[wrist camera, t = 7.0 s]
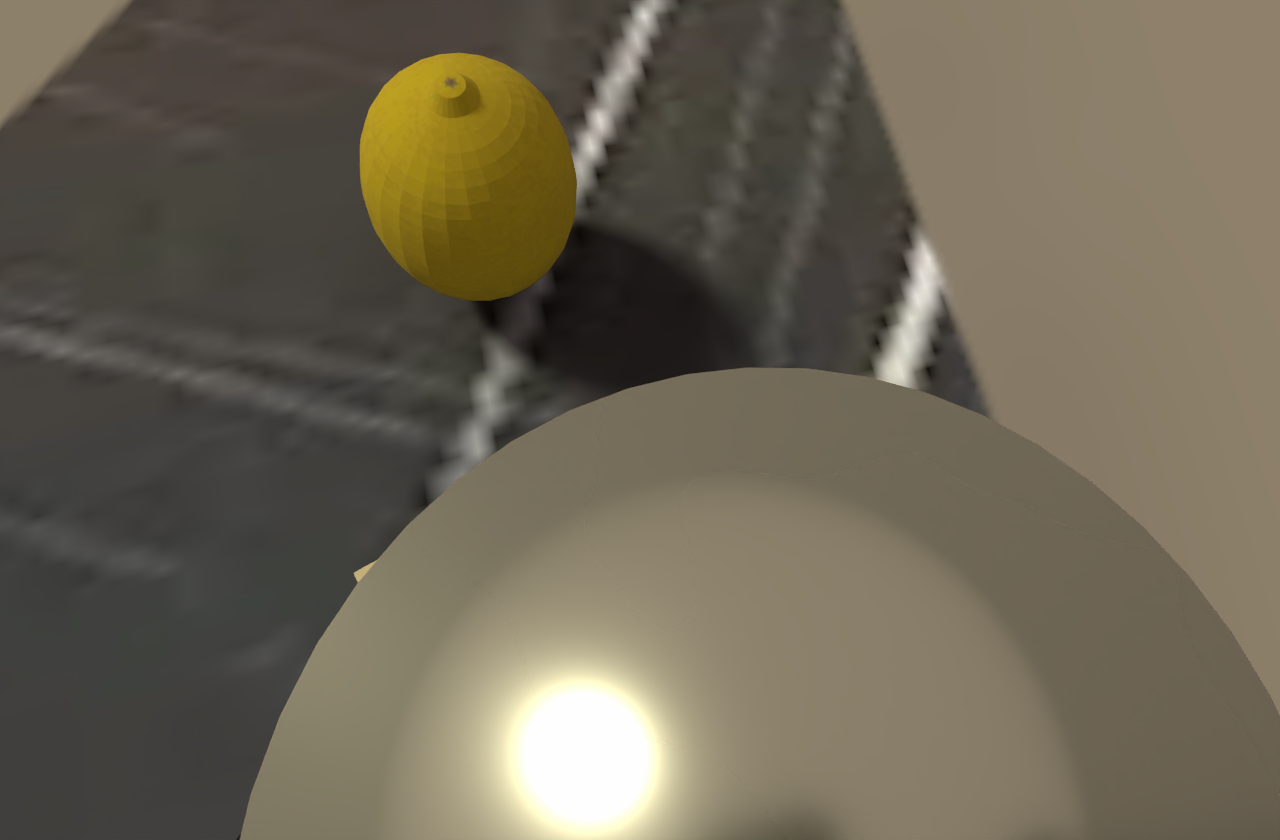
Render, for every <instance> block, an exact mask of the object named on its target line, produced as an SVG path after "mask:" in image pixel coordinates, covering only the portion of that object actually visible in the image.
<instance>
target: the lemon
mask: <svg viewBox="0 0 1280 840" xmlns="http://www.w3.org/2000/svg"><path fill="white" fill-rule="evenodd" d="M360 180H361V188H362V192H363V196H364V199H365V203H366V206H367V209H368V212H369V216H370V219H371V222H372V224H373V227H374V229H375V231H376V233H377V235H378V236H379V238H380V239H381V241H382V242H383V244H384V245H385V247H386V248H387V250H388V251H389V252H390V254H391V255H392V257H393V258H394V260H395V261H396V262H397V263H398V264H399V265H400V266H401V267H402V268H403V269H405V270H406V271H407V272H408V273H409V274H410V275H412V276H413V277H414V278H415V279H416V280H417V281H419V282H420V283H422V284H423V285H425V286H427V287H429V288H431V289H433V290H435V291H437V292H439V293H441V294H443V295H446V296H450V297H454V298H459V299H463V300H467V301H491V300H495V299H499V298H504V297H508V296H512V295H514V294H516V293H518V292H520V291H522V290H524V289H526V288H528V287H530V286H531V285H533V284H534V283H535V282H536V281H537V280H538V279H540V278H541V277H542V276H543V275H544V274H545V273H547V272H548V271H549V270H550V268H551V267H552V266H553V264H554V263H555V261H556V260H557V258H558V257H559V256H560V254H561V253H562V251H563V249H564V248H565V245H566V242H567V239H568V236H569V234H570V231H571V228H572V225H573V222H574V218H575V210H576V188H577V181H576V173H575V168H574V164H573V160H572V155H571V151H570V147H569V143H568V140H567V137H566V135H565V132H564V130H563V128H562V126H561V124H560V122H559V120H558V118H557V117H556V115H555V113H554V111H553V110H552V108H551V106H550V104H549V102H548V101H547V100H546V98H545V97H544V96H543V94H542V93H541V92H540V91H539V90H538V89H537V88H536V87H535V86H534V85H533V84H532V83H531V82H530V81H529V80H528V79H526V78H525V77H524V76H522V75H521V74H520V73H518V72H516V71H515V70H513V69H512V68H510V67H508V66H507V65H505V64H503V63H501V62H498V61H495V60H492V59H489V58H486V57H484V56H479V55H472V54H464V53H452V54H440V55H436V56H433V57H429V58H426V59H422V60H420V61H418V62H416V63H414V64H412V65H411V66H409V67H407V68H405V69H403V70H402V71H400V72H399V73H398V74H397V75H395V76H394V77H393V78H392V79H391V80H390V81H389V82H388V83H387V84H386V85H384V87H383V88H382V90H381V92H380V93H379V95H378V96H377V98H376V99H375V101H374V102H373V104H372V105H371V107H370V108H369V111H368V115H367V118H366V121H365V125H364V128H363V131H362V135H361V141H360Z"/></svg>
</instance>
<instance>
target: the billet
mask: <svg viewBox="0 0 1280 840" xmlns="http://www.w3.org/2000/svg"><path fill="white" fill-rule="evenodd" d="M240 840H1280V715H1279V713H1278V711H1277V709H1276V707H1275V705H1274V703H1273V701H1272V699H1271V697H1270V695H1269V693H1268V691H1267V690H1266V688H1265V687H1264V685H1263V683H1262V681H1261V680H1260V678H1259V677H1258V675H1257V673H1256V672H1255V670H1254V668H1253V667H1252V665H1251V663H1250V662H1249V660H1248V658H1247V657H1246V655H1245V654H1244V652H1243V650H1242V649H1241V647H1240V645H1239V644H1238V642H1237V640H1236V639H1235V637H1234V635H1233V634H1232V632H1231V631H1230V630H1229V628H1228V627H1227V626H1226V624H1225V623H1224V622H1223V620H1222V619H1221V618H1220V616H1219V615H1218V614H1217V612H1216V611H1215V610H1214V608H1213V607H1212V606H1211V605H1210V603H1209V602H1208V601H1207V599H1206V598H1205V597H1204V595H1203V594H1202V593H1201V591H1200V590H1199V589H1198V587H1197V586H1196V585H1195V583H1194V582H1193V581H1192V579H1191V578H1190V577H1189V575H1188V574H1187V573H1186V572H1185V571H1184V570H1183V569H1182V568H1181V567H1180V566H1179V565H1178V564H1177V563H1176V562H1175V561H1174V560H1173V558H1172V557H1171V556H1170V555H1169V554H1168V553H1167V552H1166V551H1165V550H1164V549H1163V548H1162V547H1161V545H1160V544H1159V543H1158V542H1157V541H1156V540H1155V539H1154V538H1153V537H1152V536H1151V535H1150V534H1149V533H1148V532H1147V530H1146V529H1145V528H1144V527H1143V526H1142V525H1140V523H1138V522H1137V521H1136V520H1135V519H1134V518H1133V517H1131V516H1130V515H1129V514H1128V513H1127V512H1126V511H1125V510H1123V509H1122V508H1121V507H1120V506H1119V505H1118V504H1116V503H1115V502H1114V501H1113V500H1112V499H1111V498H1110V497H1108V496H1107V495H1106V494H1105V493H1104V492H1102V491H1101V490H1100V489H1099V488H1098V487H1096V485H1094V484H1093V483H1092V482H1091V481H1089V480H1088V479H1087V478H1085V477H1084V476H1082V475H1081V474H1079V473H1078V472H1076V471H1075V470H1073V469H1072V468H1070V467H1069V466H1068V465H1066V464H1065V463H1063V462H1062V461H1061V460H1059V459H1058V458H1056V457H1055V456H1053V455H1052V454H1050V453H1049V452H1048V451H1046V450H1045V449H1043V448H1042V447H1040V446H1039V445H1037V444H1035V443H1033V442H1032V441H1030V440H1028V439H1026V438H1024V437H1022V436H1020V435H1019V434H1017V433H1015V432H1013V431H1011V430H1009V429H1007V428H1006V427H1004V426H1002V425H1000V424H998V423H996V422H994V421H993V420H991V419H989V418H987V417H985V416H983V415H981V414H978V413H976V412H973V411H971V410H968V409H966V408H963V407H961V406H958V405H956V404H953V403H951V402H948V401H946V400H943V399H941V398H938V397H936V396H933V395H931V394H928V393H925V392H922V391H918V390H914V389H910V388H907V387H903V386H899V385H895V384H892V383H888V382H884V381H880V380H877V379H873V378H869V377H864V376H857V375H850V374H843V373H835V372H828V371H821V370H814V369H804V368H739V369H730V370H721V371H712V372H703V373H694V374H686V375H682V376H678V377H674V378H669V379H665V380H661V381H657V382H653V383H649V384H644V385H640V386H636V387H632V388H628V389H625V390H623V391H620V392H617V393H615V394H612V395H609V396H607V397H604V398H601V399H599V400H596V401H594V402H591V403H588V404H586V405H583V406H580V407H578V408H575V409H573V410H570V411H568V412H566V413H564V414H562V415H560V416H558V417H557V418H555V419H553V420H551V421H549V422H547V423H545V424H543V425H542V426H540V427H538V428H536V429H534V430H532V431H530V432H528V433H527V434H525V435H523V436H521V437H519V438H517V439H515V440H513V441H512V442H510V443H509V444H507V445H506V446H505V447H503V448H502V449H500V450H499V451H498V452H496V453H495V454H493V455H492V456H490V457H489V458H488V459H486V460H485V461H483V462H482V463H481V464H479V465H478V466H476V467H475V468H473V469H472V470H471V471H469V472H468V473H466V474H465V475H464V476H462V477H461V478H459V479H458V480H457V481H456V482H455V483H453V484H452V485H451V486H450V487H449V488H448V489H447V490H446V491H445V492H444V493H442V494H441V495H440V496H439V497H438V498H437V499H436V500H435V501H434V502H433V503H431V504H430V505H429V506H428V507H427V508H426V509H425V510H424V511H423V512H422V513H421V514H419V515H418V516H417V517H416V518H415V519H414V520H413V521H412V522H411V523H410V524H408V525H407V526H406V527H405V529H404V530H403V531H402V532H401V533H400V534H399V536H398V537H397V538H396V539H395V540H394V541H393V543H392V544H391V545H390V546H389V547H388V548H387V549H386V551H385V552H384V553H383V554H382V555H381V556H380V558H379V559H378V560H377V561H376V562H375V563H374V565H373V566H372V567H371V568H370V569H369V570H368V572H367V573H366V574H365V575H364V576H363V577H362V579H361V580H360V581H359V582H358V584H357V585H356V587H355V588H354V590H353V591H352V593H351V594H350V596H349V597H348V599H347V600H346V602H345V603H344V605H343V606H342V608H341V609H340V610H339V612H338V613H337V615H336V616H335V618H334V619H333V621H332V622H331V624H330V625H329V627H328V628H327V630H326V631H325V633H324V634H323V636H322V637H321V639H320V640H319V642H318V643H317V645H316V647H315V649H314V651H313V653H312V655H311V657H310V658H309V660H308V662H307V664H306V666H305V668H304V670H303V672H302V674H301V676H300V678H299V680H298V682H297V684H296V686H295V688H294V690H293V692H292V694H291V696H290V698H289V699H288V701H287V703H286V705H285V707H284V709H283V711H282V713H281V715H280V718H279V720H278V723H277V726H276V728H275V731H274V734H273V736H272V739H271V742H270V744H269V747H268V750H267V752H266V755H265V758H264V760H263V763H262V766H261V768H260V771H259V774H258V777H257V779H256V782H255V785H254V787H253V790H252V793H251V796H250V800H249V804H248V808H247V812H246V816H245V820H244V824H243V828H242V832H241V836H240Z"/></svg>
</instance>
